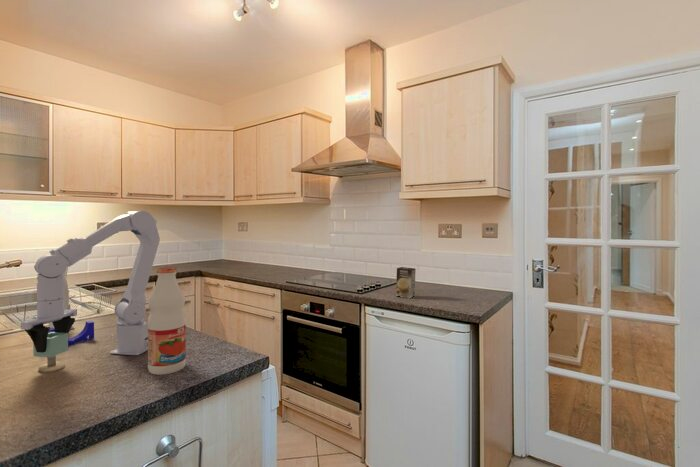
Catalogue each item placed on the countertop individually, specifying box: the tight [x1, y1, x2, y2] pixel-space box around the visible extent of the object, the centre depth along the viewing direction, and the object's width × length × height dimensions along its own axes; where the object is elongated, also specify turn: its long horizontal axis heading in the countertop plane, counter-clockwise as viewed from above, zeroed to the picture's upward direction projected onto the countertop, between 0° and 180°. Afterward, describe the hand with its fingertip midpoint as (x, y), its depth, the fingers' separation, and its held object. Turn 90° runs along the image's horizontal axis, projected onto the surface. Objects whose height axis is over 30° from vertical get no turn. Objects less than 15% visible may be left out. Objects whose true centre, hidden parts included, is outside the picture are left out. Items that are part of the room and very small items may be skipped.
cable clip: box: [48, 320, 95, 347], centre depth 121 cm, size 12×4×6 cm, turn 143°
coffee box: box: [395, 266, 417, 299], centre depth 202 cm, size 9×6×16 cm
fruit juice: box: [147, 266, 187, 376], centre depth 101 cm, size 9×9×28 cm
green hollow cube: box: [32, 332, 69, 358], centre depth 100 cm, size 5×5×5 cm
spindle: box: [37, 355, 66, 373], centre depth 100 cm, size 6×6×6 cm
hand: (51, 348), depth 100 cm, fingers closed on green hollow cube, 5 cm apart
